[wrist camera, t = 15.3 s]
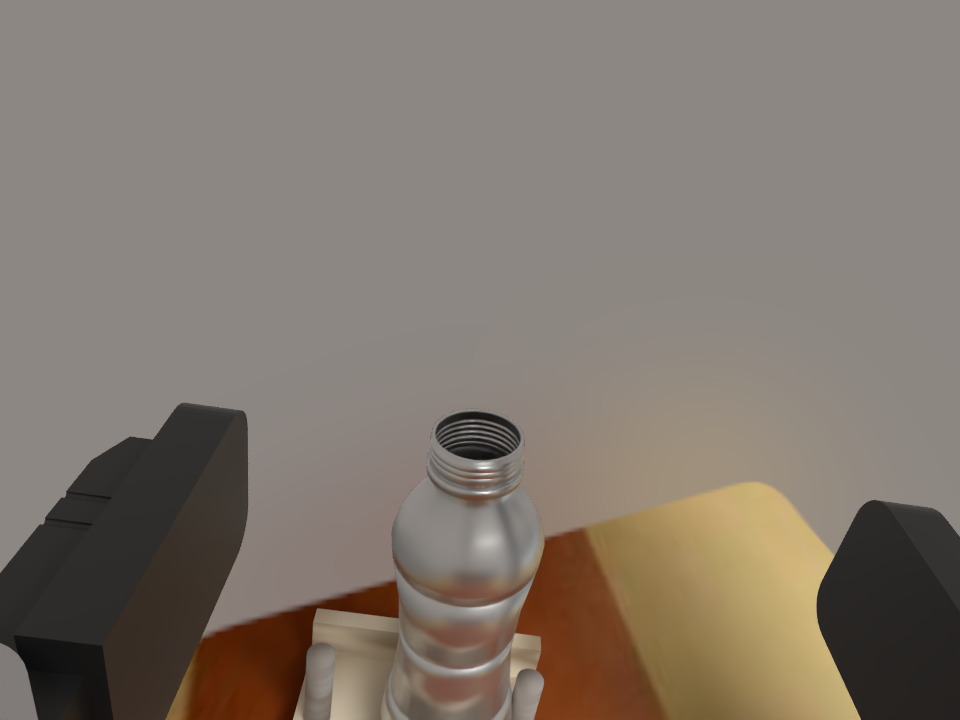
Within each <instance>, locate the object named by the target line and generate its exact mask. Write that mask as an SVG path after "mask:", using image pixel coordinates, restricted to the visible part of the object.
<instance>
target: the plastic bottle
mask: <svg viewBox="0 0 960 720" xmlns="http://www.w3.org/2000/svg"><path fill="white" fill-rule="evenodd" d="M430 440H431V441H430V451H429V453H428V457H427V474H428V476H427V477H426V478H425V479H423V480H422V481H421V482H420V483H419V484H418V485H417V486H416V487H415V488H414V489H413V490H412V491H411V493H410V494H409V495H408V496H407V497H406V498H405V500H404V502H403V504H402V506H401V507H400V510H399V512H398V514H397V516H396V519H395V521H394V523H393V528H392V552H393V559H394V567H395V574H396V581H397V588H398V596H399V638H398V644H397V649H396V654H395V659H394V665H393V668H392V671H391V673H390V676H389V678H388V681H387V683H386V687H385V691H384V695H383V699H382V705H381V720H512V691H511V684H510V664H511V648H512V643H513V639H514V635H515V631H516V627H517V623H518V619H519V615H520V612H521V609H522V607H523V604H524V602H525V599H526V597H527V594H528V592H529V590H530V587H531V585H532V582H533V580H534V577H535V575H536V572H537V570H538V567H539V563H540V560H541V557H542V553H543V549H544V545H545V544H544V532H543V526H542V521H541V517H540V514H539V511H538V509H537V507H536V506H535V504H534V503H533V501H532V500H531V498H530V496H529V495H528V494H527V492H526V491H525V489H524V488H523V486H521V484H520V483H521V481H522V478H523V472H524V462H523V452H524V445H525V444H524V434H523V431H522V429H521V428H520V426H519V425H518V424H517V423H515V422H514V421H513V420H512V419H510V418H509V417H507V416H505V415H502V414H500V413H497V412H494V411H490V410H484V409H463V410H458V411H454V412H451V413H448V414H446V415H444V416H442V417H441V418H440V419H438V420H437V422H436V423H435V424H434V426H433V428H432V432H431V439H430Z"/></svg>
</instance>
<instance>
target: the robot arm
mask: <svg viewBox="0 0 960 720" xmlns="http://www.w3.org/2000/svg"><path fill="white" fill-rule="evenodd" d="M247 434H248V428H247V418H246V414H245V413H244V412H243V411H240V410H233V409H226V408H219V407H212V406H204V405H197V404H190V403H181V404H180V405H178V406H177V407H176V409H175V410H174V411H173V413H172V414H171V415H170V417H169V418H168V420H167V421H166V422H165V424H164V425H163V427H162V428H161V429H160V431H159V432H158V434H157V435H156V436H155V438H154V439H153V440H151V439H143V438H136V437H129V438H127V439H125V440H124V441H122V442H120V443H119V444H117V445H116V446H114V447H112V448H111V449H109V450H108V451H106V452H104V453H103V454H101V455H99V456H98V457H96V458H94V459H93V460H91V462H90V463H89V464H88V465H87V466H86V468H85V469H84V470H83V472H82V473H81V474H80V475H79V476H78V478H77V479H76V480H75V481H74V483H73V484H72V485H71V486H70V488H69V489H68V490H67V491H66V492H67V494H66V497H65V498H61V499H60V500H59V501H58V502H57V504H56V505H55V506H54V507H53V509H52V510H51V511H50V512H49V514H48V515H47V516H46V518H45V523H44V524H43V525H39V526H38V527H37V528H36V530H35V531H34V532H33V533H32V535H31V536H30V537H29V538H28V540H27V541H26V542H25V543H24V545H23V546H22V547H21V548H20V550H19V551H18V552H17V553H16V555H15V556H14V557H13V558H12V559H11V561H10V562H9V563H8V564H7V566H6V567H5V568H4V569H3V570H2V572H1V573H0V720H165V719H166V716H167V714H168V712H169V709H170V707H171V705H172V703H173V700H174V698H175V696H176V694H177V691H178V689H179V687H180V684H181V682H182V680H183V678H184V675H185V673H186V671H187V669H188V666H189V664H190V662H191V660H192V657H193V655H194V653H195V650H196V648H197V646H198V644H199V641H200V639H201V637H202V635H203V632H204V630H205V628H206V626H207V623H208V621H209V619H210V616H211V614H212V612H213V610H214V607H215V605H216V603H217V600H218V598H219V596H220V594H221V591H222V589H223V587H224V585H225V582H226V580H227V578H228V575H229V573H230V571H231V569H232V566H233V564H234V562H235V559H236V557H237V554H238V553H239V550H240V547H241V543H242V540H243V536H244V531H245V527H246V520H247V511H248V435H247ZM817 619H818V624H819V628H820V631H821V633H822V636H823V638H824V640H825V642H826V644H827V647H828V649H829V651H830V653H831V655H832V657H833V659H834V662H835V664H836V666H837V668H838V670H839V672H840V675H841V677H842V679H843V681H844V683H845V685H846V688H847V690H848V692H849V694H850V696H851V698H852V701H853V703H854V705H855V707H856V709H857V711H858V714H859V716H860V718H861V720H960V537H959V535H958V534H957V533H956V532H955V530H954V529H953V528H952V526H951V525H950V524H949V522H948V521H947V520H946V519H945V517H943V515H942V514H941V513H940V512H938V511H937V510H935V509H933V508H928V507H921V506H913V505H906V504H899V503H892V502H885V501H877V500H872V501H869V502H867V503H865V504H864V505H863V506H862V507H861V508H860V509H859V511H858V513H857V514H856V516H855V518H854V520H853V522H852V524H851V526H850V528H849V530H848V532H847V534H846V535H845V538H844V539H843V541H842V543H841V545H840V547H839V549H838V551H837V553H836V555H835V557H834V559H833V561H832V563H831V564H830V566H829V568H828V570H827V572H826V574H825V576H824V578H823V580H822V582H821V584H820V587H819V591H818V596H817Z"/></svg>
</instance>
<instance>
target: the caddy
mask: <svg viewBox="0 0 960 720" xmlns="http://www.w3.org/2000/svg"><path fill="white" fill-rule="evenodd" d="M398 638H399V619H398V618H390V617H383V616H375V615H367V614H359V613H351V612H343V611H335V610H328V609H320V608H317V611H316V614H315V618H314V621H313V636H312V646H311V647H310V648H309V649H308V651H307V657H306V674H305V678H304V681H303V685H302V689H301V692H300V696H299V700H298V703H297V707H296V711H295V714H294V718H293V720H381V705H382V699H383V695H384V691H385V687H386V683H387V681H388V678H389V676H390V673H391V671H392V668H393V665H394V659H395V654H396V649H397V644H398ZM540 653H541V638H540V636H532V635H524V634H516V633H515V635H514V639H513V643H512V648H511V664H510V684H511V691H512V720H535V713H536V710H537V706H538V703H539V700H540V696H541V693H542V689H543V686H544V679H543V677H542V675H541V674H540V673H539V672H538V671H536V668H537V664H538V660H539V657H540Z"/></svg>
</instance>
